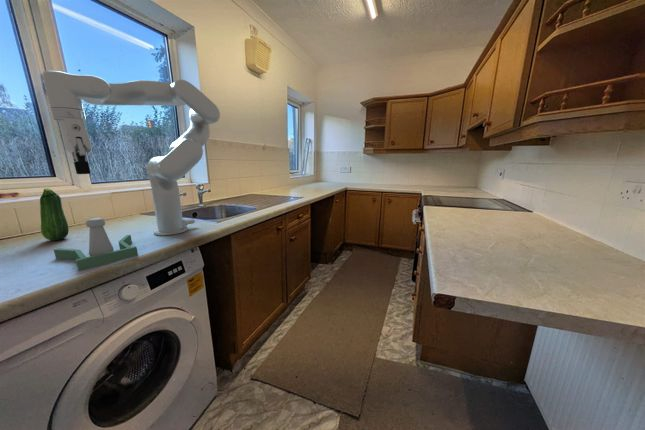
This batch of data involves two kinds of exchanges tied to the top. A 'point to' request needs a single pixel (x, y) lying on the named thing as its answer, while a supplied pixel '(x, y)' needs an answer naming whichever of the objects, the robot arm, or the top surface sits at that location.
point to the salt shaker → (98, 237)
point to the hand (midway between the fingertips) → (83, 173)
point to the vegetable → (52, 216)
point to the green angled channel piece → (98, 259)
